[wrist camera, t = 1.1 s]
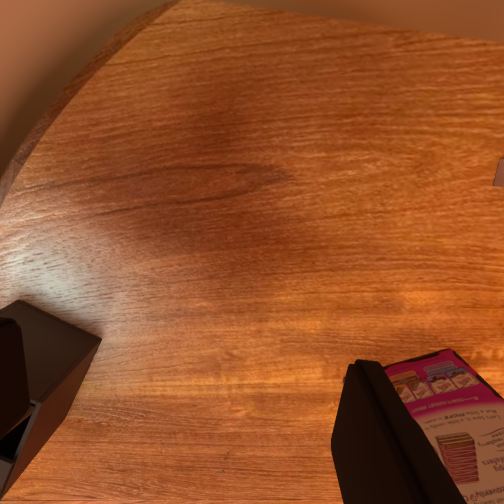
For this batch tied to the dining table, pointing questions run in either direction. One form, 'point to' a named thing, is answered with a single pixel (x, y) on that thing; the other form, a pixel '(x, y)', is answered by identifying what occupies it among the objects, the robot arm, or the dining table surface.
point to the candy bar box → (457, 420)
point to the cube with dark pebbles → (499, 174)
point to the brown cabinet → (44, 383)
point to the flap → (30, 411)
